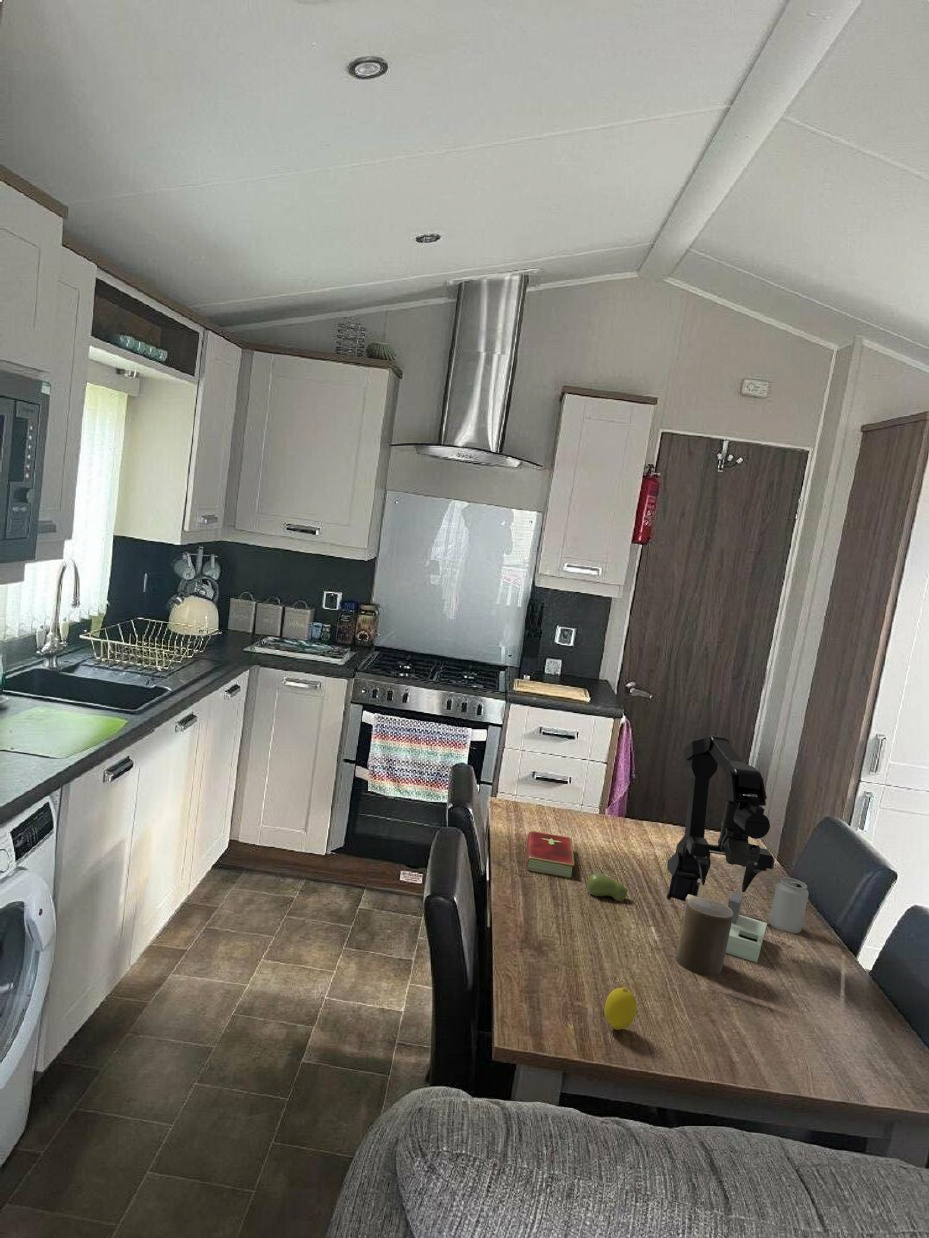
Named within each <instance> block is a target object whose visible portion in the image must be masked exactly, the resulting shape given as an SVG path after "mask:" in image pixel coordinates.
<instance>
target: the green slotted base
mask: <svg viewBox="0 0 929 1238" xmlns="http://www.w3.org/2000/svg"><path fill="white" fill-rule="evenodd" d="M743 896H744V894H741V893H738V892H734V891H732V892H731V895H730V896H729V900H728V904H727V907H729V908H730V909H732V911H733V919H732V924H731V929H730V934H729V939H728V940H731V941H734V942H737V943H740V944H744V945H747V946H750V947H753V948H756V949H760V948H761V949H762V946H761V944H762V945H763V942H762V941H764V938H765V937H764V936H765V933H766V929H767V925H768V923H767V922H764V921H762V920H757V919H754V918H752V917H751V918H750V917H748V916H745V915H741V914H740V913H741V906H742V902H743ZM739 934H740V935H743V936H747V937H750V938H753V939H756V940H757V942H755V941H751V940H748V939H745V938H742V937H738V936H739ZM761 949H760V950H761Z"/></svg>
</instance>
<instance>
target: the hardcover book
mask: <svg viewBox="0 0 929 1238" xmlns="http://www.w3.org/2000/svg"><path fill="white" fill-rule="evenodd" d="M526 839H527V840H526V841H527V842H526V858H525V859H526V860H525V861H526V862H525V863H526V865H525V869H526V871H532V872H537V873H542V874H549V875H555V876H560V877H565V878H570V879H571V878H572V874H573V873H572V872H573V867H575V858H574V857H575V855H574V847H573V838H572V837H570V836H563V835H557V834H551V833H547V832H541V831H535V830H529V831H528V834H527V838H526Z"/></svg>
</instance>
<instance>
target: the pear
mask: <svg viewBox="0 0 929 1238" xmlns="http://www.w3.org/2000/svg"><path fill="white" fill-rule="evenodd" d="M586 888H587V891H588V892H589V893H590V894H591V895H593V896H595V897H603V896H610V897H612V899H613V900H615V901H616V902H620V903H621V902H623V901H624V900H625V899H626V897H627V895H628V891H629V889H628V888H627V887H625V886H624V884H622V883H621V882H617V881H616V880H614V879H613V878H611V877H610V876H607V875H605V874H602V873H597V872H596V873H592V874H591V875H590V876H589V877H588V878H587V880H586Z"/></svg>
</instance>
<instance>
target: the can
mask: <svg viewBox="0 0 929 1238" xmlns="http://www.w3.org/2000/svg"><path fill="white" fill-rule="evenodd" d="M809 895H810V892H809V891H808V885H807V884H806V883H805V882H803V881H801V880H799V879H796V878H793V877H792V878H791V877H781V878H780V880H779V882H777V883H776V885H775V889H774V895H773V900H772V906H771V910H770V915H769V921H768V923H769V924H770V926H771V927H773V928H772V929H775V930H779V931H783V932H786V933H788V934H792V935H797V934H798V933H801V932H802V928H803V923H804V917H805V913H806V907H807V903H808V899H809Z"/></svg>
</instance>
